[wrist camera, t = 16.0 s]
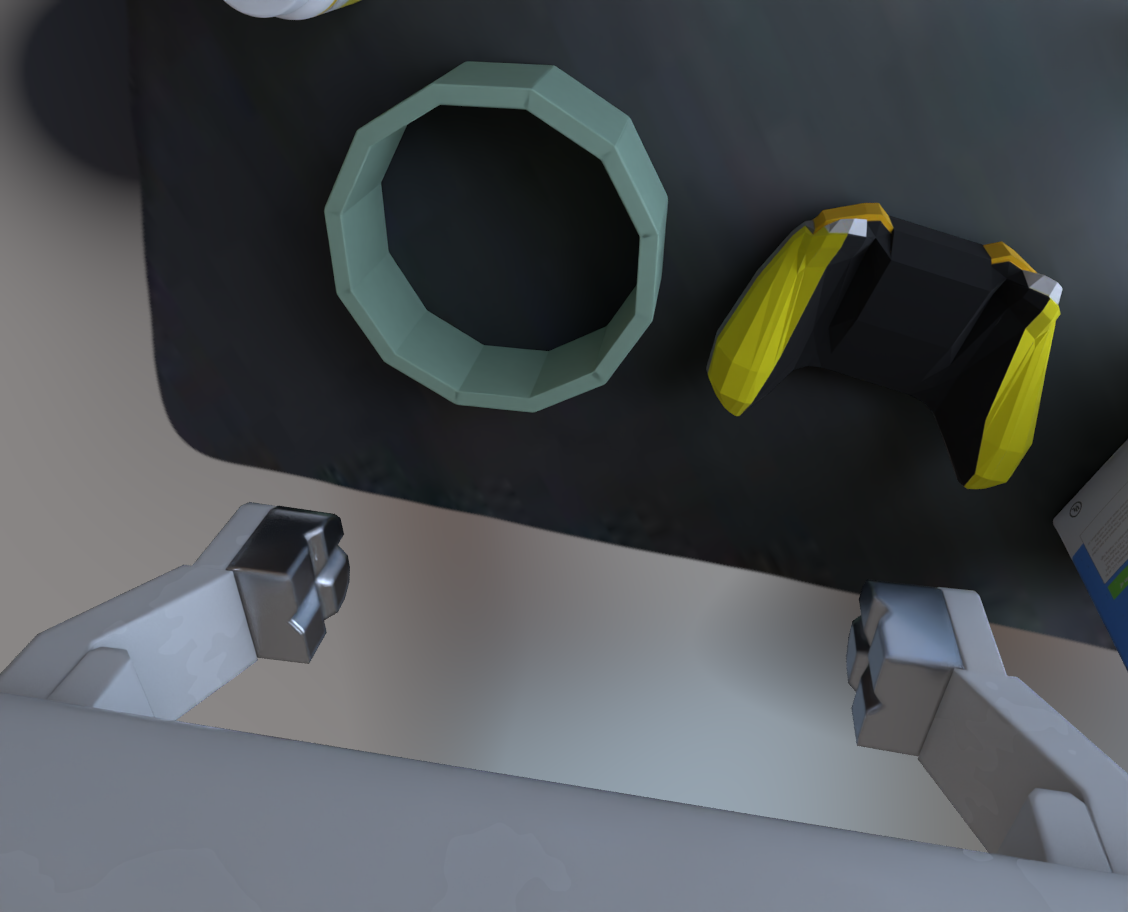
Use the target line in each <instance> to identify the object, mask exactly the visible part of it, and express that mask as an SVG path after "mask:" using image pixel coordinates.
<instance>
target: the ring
mask: <svg viewBox="0 0 1128 912" xmlns="http://www.w3.org/2000/svg"><path fill="white" fill-rule="evenodd" d="M439 105H453V106H472V107H491V108H509V109H526V110H527V111H529V112H530V113H532V114H533V115H535V116H536V117H538V118H539V119H541V120H542V121H544V122H545V123H547V124H548V125H550V126H551V127H553V128H554V129H556V130H557V131H559V132H560V133H562V134H563V135H564V136H566V137H567V138H569V139H570V140H572V141H573V142H575V143H576V144H578V145H579V146H581V147H582V148H584V149H585V150H587V151H588V152H590V153H591V154H593V155H594V156H596V157H597V158H599V159H600V160H601V161H602V163H603V165H604V167H605V169H606V171H607V173H608V175H609V177H610V179H611V181H612V183H613V185H614V187H615V189H616V191H617V193H618V195H619V197H620V199H621V201H622V203H623V205H624V206H625V208H626V210H627V212H628V214H629V216H630V218H631V220H632V222H633V224H634V226H635V228H636V230H637V232H638V234H639V236H640V241H639V257H638V272H637V285H636V286H635V288H634V289H633V290H632V292H631V293H630V295H629V296H628V297H627V299H626V300H625V302H624V303H623V304H622V306H621V307H620V309H619V310H618V311H617V313H616V314H615V316H614V317H613V318H612V320H611V321H610V323H609V324H608V325H607V326H606V327H604V328H601V329H599V330H597V331H594V332H592V333H590V334H587V335H585V336H583V337H581V338H578V339H576V340H574V341H571V342H569V343H567V344H564V345H562V346H560V347H557V348H555V349H553V350H550V351H541V350H530V349H519V348H508V347H498V346H487V345H483V344H481V343H479V342H478V341H476V340H474V339H473V338H471V337H470V336H468V335H466V334H465V333H463V332H461V331H460V330H458V329H456V328H455V327H453V326H452V325H450V324H448V323H447V322H445V321H443V320H442V319H440V318H438V317H437V316H435V315H434V314H432V313H430V312H429V311H427V310H426V308H425V307H424V305H423V304H422V302H421V300H420V299H419V297H418V296H417V294H416V293H415V291H414V290H413V288H412V287H411V285H410V284H409V282H408V281H407V279H406V278H405V276H404V275H403V273H402V271H401V270H400V268H399V267H398V265H397V264H396V262H395V261H394V259H393V258H392V256H391V255H390V253H389V251H388V242H387V233H386V223H385V214H384V205H383V196H382V187H381V182H382V179H383V177H384V175H385V173H386V171H387V168H388V166H389V164H390V162H391V160H392V157H393V155H394V153H395V151H396V149H397V146H398V144H399V142H400V140H401V138H402V135H403V133H404V131H405V129H406V126H407V124H409V123H411V122H412V121H414V120H416V119H417V118H419V117H420V116H422V115H424V114H425V113H427V112H429V111H430V110H432V109H434V108H435V107H437V106H439ZM667 205H668V197H667V194H666V192H665V190H664V188H663V186H662V184H661V182H660V180H659V177H658V175H657V173H656V171H655V169H654V167H653V165H652V163H651V161H650V159H649V157H648V154H647V152H646V150H645V148H644V146H643V144H642V142H641V140H640V138H639V136H638V134H637V131H636V129H635V127H634V125H633V123H632V121H631V119H630V118H629V116H627V115H626V114H624V113H623V112H621V111H620V110H619V109H617V108H616V107H614V106H613V105H611V104H610V103H608V102H607V101H605V100H604V99H603V98H601V97H600V96H598V95H597V94H595V93H594V92H592V91H591V90H589V89H588V88H587V87H585V86H584V85H582V84H581V83H579V82H578V81H576V80H575V79H573V78H572V77H571V76H569V75H568V74H566V73H565V72H563V71H562V70H560V69H559V68H557V67H556V66H553V65H535V64H513V63H491V62H470V61H466V62H464V63H463V64H461V65H459V66H458V67H456V68H455V69H453V70H451V71H450V72H448V73H447V74H445V75H443V76H442V77H440V78H439V79H437V80H435V81H434V82H432V83H431V84H429V85H427V86H426V87H424V88H423V89H421V90H419V91H418V92H416V93H415V94H413V95H411V96H410V97H408V98H407V99H405V100H403V101H402V102H400V103H399V104H397V105H395V106H394V107H392V108H391V109H389V110H388V111H386V112H384V113H383V114H381V115H380V116H378V117H377V118H375V119H374V120H372V121H370V122H369V123H367V124H366V125H364V126H363V127H361V128H359V129H358V130H357V132H356V133H355V136H354V138H353V141H352V143H351V145H350V148H349V150H348V153H347V155H346V157H345V160H344V162H343V165H342V167H341V169H340V172H339V174H338V177H337V179H336V181H335V184H334V186H333V189H332V191H331V193H330V196H329V198H328V201H327V203H326V205H325V209H324V214H325V220H326V227H327V233H328V240H329V247H330V253H331V260H332V267H333V273H334V280H335V286H336V293H337V295H338V296H339V298H340V299H341V301H342V302H343V304H344V305H345V306H346V308H347V309H348V311H349V312H350V314H351V315H352V316H353V318H354V319H355V321H356V322H357V324H358V325H359V326H360V328H361V329H362V331H363V332H364V334H365V335H366V336H367V338H368V339H369V341H370V342H371V344H372V345H373V346H374V348H375V349H376V351H377V352H378V354H379V355H380V356H381V358H382V359H383V361H384V362H386V363H387V364H389V365H390V366H392V367H394V368H395V369H397V370H399V371H400V372H402V373H404V374H405V375H407V376H409V377H411V378H412V379H414V380H416V381H417V382H419V383H421V384H422V385H424V386H426V387H427V388H429V389H431V390H432V391H434V392H436V393H437V394H439V395H441V396H442V397H444V398H446V399H447V400H449V401H451V402H453V403H454V404H456V405H465V406H475V407H485V408H494V409H504V410H514V411H523V412H533V413H534V412H537V411H539V410H542V409H544V408H547V407H549V406H552V405H554V404H557V403H559V402H562V401H564V400H567V399H569V398H571V397H574V396H576V395H579V394H581V393H584V392H586V391H589V390H591V389H594V388H596V387H599V386H601V385H604V384H606V382H607V381H608V380H609V378H610V377H611V376H612V374H613V373H614V372H615V370H616V369H617V368H618V366H619V365H620V364H621V362H622V361H623V360H624V358H625V357H626V356H627V354H628V353H629V352H630V350H631V349H632V348H633V346H634V345H635V344H636V342H637V341H638V340H639V338H640V337H641V336H642V334H643V333H644V332H645V330H646V329H647V328H648V326H649V325H650V324H651V322H652V320H653V316H654V311H655V306H656V301H657V297H658V292H659V287H660V282H661V277H662V266H663V254H664V242H665V230H666V217H667Z"/></svg>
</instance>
